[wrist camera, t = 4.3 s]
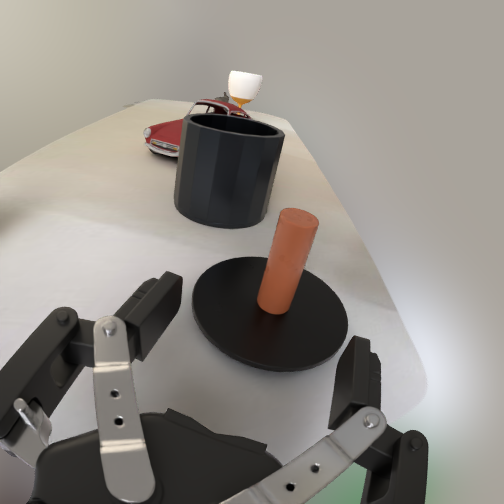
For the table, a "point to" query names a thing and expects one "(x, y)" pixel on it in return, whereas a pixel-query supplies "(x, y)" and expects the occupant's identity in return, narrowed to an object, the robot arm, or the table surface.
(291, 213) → the lid
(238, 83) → the cup
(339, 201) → the table surface
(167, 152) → the toy car
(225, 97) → the dog figurine
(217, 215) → the canister
